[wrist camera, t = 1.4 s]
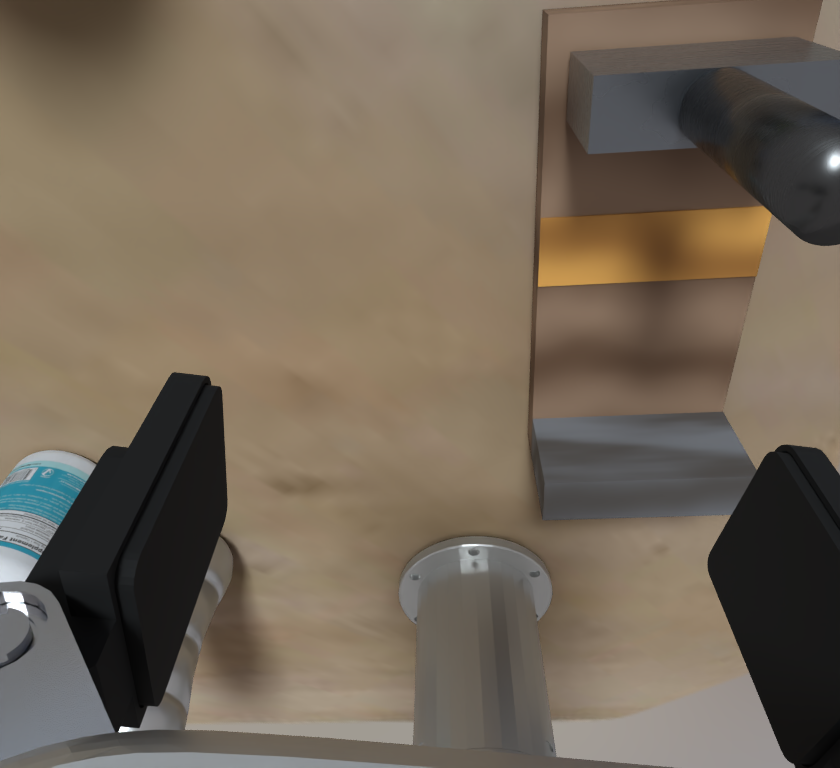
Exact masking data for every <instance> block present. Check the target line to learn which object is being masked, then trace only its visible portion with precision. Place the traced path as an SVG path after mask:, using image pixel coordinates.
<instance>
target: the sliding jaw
mask: <svg viewBox="0 0 840 768" xmlns="http://www.w3.org/2000/svg"><path fill="white" fill-rule="evenodd" d="M566 120H567V122H568V124H569V125H570V127H571V128H572V130H573V132H574V133H575V135H576V136H577V138H578V140H579V141H580V143H581V144H582V146H583V147H584V149H585V151H586V152H587V154H601V153H618V152H635V151H651V150H668V149H685V148H699V149H700V150H701V151H702V152H703V153H704V154H706V155H707V156H708V157H709V158H710V159H711V160H712V161H713V162H715V163H716V164H717V165H718V166H719V167H720V168H721V169H722V170H724V171H725V172H726V173H727V174H728V175H729V176H730V177H731V178H732V179H734V180H735V181H736V182H737V183H738V184H739V185H740V186H741V187H743V188H744V189H745V190H746V191H747V192H748V193H749V194H750V195H752V196H753V197H754V198H755V199H756V200H757V201H758V202H759V203H761V204H762V205H763V206H764V207H765V208H766V209H767V210H768V211H770V212H771V213H772V214H773V215H774V216H775V217H776V218H777V219H778V220H780V221H781V222H782V223H783V224H784V225H785V226H786V227H787V228H789V229H790V230H791V231H792V232H793V233H794V234H795V235H796V236H798V237H799V238H800V239H802V240H803V241H805V242H808V243H810V244H814V245H820V246H830V245H838V244H840V51H838V50H835V49H832V48H829V47H826V46H823V45H820V44H817V43H814V42H811V41H808V40H805V39H802V38H799V37H796V36H795V37H780V38H765V39H750V40H736V41H721V42H706V43H691V44H677V45H662V46H647V47H632V48H617V49H603V50H588V51H573V52H570V66H569V84H568V101H567V119H566Z"/></svg>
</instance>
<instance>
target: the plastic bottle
mask: <svg viewBox="0 0 840 768" xmlns="http://www.w3.org/2000/svg"><path fill="white" fill-rule="evenodd" d="M232 570H233V556H232V553H231V551H230V549H229V547H228V545H227V544H226V542H225V541H224V540H223V539H222V538H221V537H220V536H219V539H218V542H217V545H216V547H215V550H214V553H213V556H212V559H211V562H210V565H209V568H208V570H207V573H206V576H205V579H204V582H203V585H202V588H201V591H200V593H199V596H198V599H197V602H196V605H195V608H194V611H193V614H192V616H191V619H190V622H189V625H188V628H187V631H186V634H185V637H184V639H183V642H182V645H181V648H180V651H179V654H178V657H177V660H176V662H175V665H174V668H173V671H172V674H171V677H170V680H169V683H168V685H167V688H166V691H165V694H164V697H163V699H162V701H161V703H160V705H159V706H158V707H154V706H147V709H146V712H145V715H144V717H143V720H142V723H141V726H140V728H128V727H120V730H119V732H128V731H144V730H185V726H186V722H187V715H188V710H189V703H190V697H191V690H192V684H193V677H194V673H195V669H196V666H197V662H198V657H199V653H200V650H201V646H202V642H203V639H204V637H205V634H206V632H207V629H208V627H209V625H210V622H211V620H212V617H213V615H214V613H215V610H216V608H217V606H218V604H219V603H220V601H221V599H222V598H223V596H224V594H225V592H226V590H227V588H228V586H229V584H230V581H231V578H232Z"/></svg>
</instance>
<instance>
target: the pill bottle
mask: <svg viewBox="0 0 840 768" xmlns="http://www.w3.org/2000/svg"><path fill="white" fill-rule="evenodd" d="M95 466H96V464H95V463H93V462H92V461H90V460H88V459H86V458H84V457H82V456H80V455H77V454H74V453H70V452H66V451H58V450H46V451H40V452H36V453H33V454H31V455H29V456H27V457H25V458H24V459H22V460H21V461H20V462H19V463H18V464H17V465H16V467H15V468H14V469H13V471H12V472H11V473H10V474H9V475H8V477H7V478H6V479H5V481H4V482H3V483H2V485H1V486H0V583H1V582H14V581H23V582H25V580H26V579H27V577H28V576H29V574H30V572H31V571H32V569H33V567H34V566H35V564H36V563H37V561H38V559H39V558H40V556H41V554H42V553H43V551H44V549H45V548H46V546H47V545H48V543H49V541H50V540H51V538H52V536H53V535H54V533H55V532H56V530H57V528H58V527H59V525H60V523H61V522H62V520H63V519H64V517H65V515H66V514H67V512H68V510H69V509H70V507H71V506H72V504H73V502H74V501H75V499H76V497H77V496H78V494H79V493H80V491H81V489H82V488H83V486H84V484H85V483H86V481H87V480H88V478H89V476H90V475H91V473H92V471H93V470H94V468H95Z"/></svg>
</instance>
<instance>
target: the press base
mask: <svg viewBox="0 0 840 768" xmlns="http://www.w3.org/2000/svg"><path fill="white" fill-rule="evenodd" d="M822 1H823V0H673V1H659V2H645V3H631V4H617V5H603V6H589V7H575V8H561V9H547V10H543V17H542V46H541V75H540V103H539V132H538V161H537V189H536V218H535V247H534V276H533V304H532V333H531V362H530V390H529V419H528V438H529V444H530V450H531V456H532V461H533V467H534V473H535V479H536V484H537V490H538V496H539V502H540V507H541V513H542V519H543V520H569V519H603V518H637V517H670V516H704V515H732V513H733V511H734V510H735V508H736V506H737V504H738V503H739V501H740V499H741V497H742V496H743V494H744V492H745V490H746V489H747V487H748V485H749V483H750V482H751V480H752V478H753V476H754V475H755V473H756V471H757V470H756V469H755V467H754V465H753V463H752V462H751V460H750V458H749V456H748V455H747V453H746V451H745V449H744V448H743V446H742V444H741V442H740V441H739V439H738V437H737V436H736V434H735V432H734V430H733V429H732V427H731V425H730V423H729V422H728V420H727V418H726V416H725V415H724V413H723V409H724V404H725V400H726V396H727V392H728V388H729V384H730V380H731V376H732V372H733V367H734V363H735V359H736V355H737V351H738V347H739V343H740V339H741V335H742V330H743V326H744V322H745V318H746V314H747V310H748V306H749V302H750V298H751V293H752V289H753V285H754V281H755V277H756V276H757V272H758V268H759V264H760V260H761V256H762V252H763V248H764V244H765V240H766V236H767V231H768V227H769V223H770V219H771V215H772V213H771V212H770V211H768V210H767V209H766V208H765V207H764V206H763V205H762V204H761V203H759V202H758V201H757V200H756V199H755V198H754V197H753V196H752V195H750V194H749V193H748V192H747V191H746V190H745V189H744V188H743V187H741V186H740V185H739V184H738V183H737V182H736V181H735V180H734V179H732V178H731V177H730V176H729V175H728V174H727V173H726V172H725V171H724V170H722V169H721V168H720V167H719V166H718V165H717V164H716V163H715V162H713V161H712V160H711V159H710V158H709V157H708V156H707V155H706V154H704V153H703V152H702V151H701V150H700V149H699V148H685V149H668V150H651V151H635V152H618V153H601V154H587V152H586V151H585V149H584V147H583V146H582V144H581V143H580V141H579V140H578V138H577V136H576V135H575V133H574V132H573V130H572V128H571V127H570V125H569V124H568V122H567V120H566V119H567V101H568V84H569V66H570V52H573V51H588V50H603V49H617V48H632V47H647V46H662V45H677V44H691V43H706V42H721V41H736V40H750V39H765V38H780V37H795V36H796V37H799V38H802V39H805V40H808V41H811V42H813V38H814V34H815V30H816V26H817V22H818V18H819V14H820V10H821V6H822Z"/></svg>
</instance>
